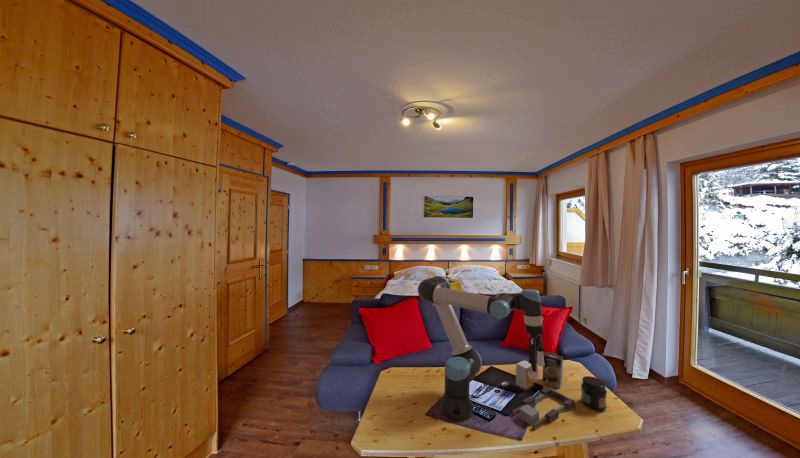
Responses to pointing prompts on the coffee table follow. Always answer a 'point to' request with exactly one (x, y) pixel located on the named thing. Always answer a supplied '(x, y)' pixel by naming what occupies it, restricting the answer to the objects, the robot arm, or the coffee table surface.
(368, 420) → the coffee table surface
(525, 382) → the small box
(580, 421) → the coffee table surface
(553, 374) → the coffee box
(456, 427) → the coffee table surface
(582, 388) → the supplement container
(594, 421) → the coffee table surface
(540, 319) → the robot arm
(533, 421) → the slate block
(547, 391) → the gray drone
